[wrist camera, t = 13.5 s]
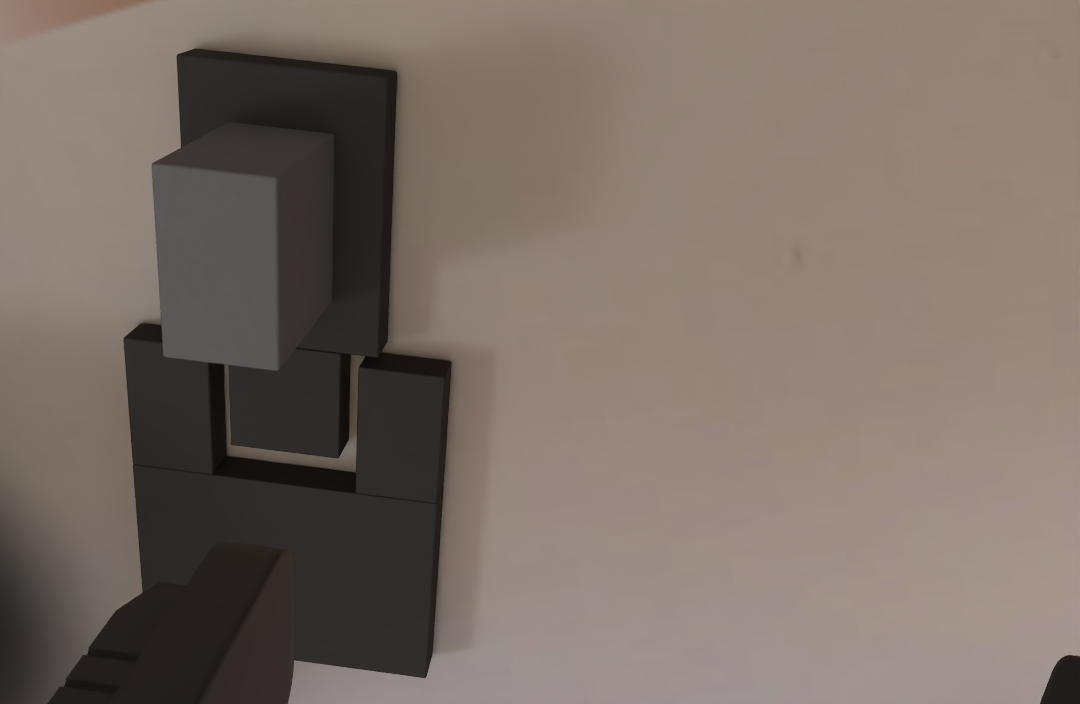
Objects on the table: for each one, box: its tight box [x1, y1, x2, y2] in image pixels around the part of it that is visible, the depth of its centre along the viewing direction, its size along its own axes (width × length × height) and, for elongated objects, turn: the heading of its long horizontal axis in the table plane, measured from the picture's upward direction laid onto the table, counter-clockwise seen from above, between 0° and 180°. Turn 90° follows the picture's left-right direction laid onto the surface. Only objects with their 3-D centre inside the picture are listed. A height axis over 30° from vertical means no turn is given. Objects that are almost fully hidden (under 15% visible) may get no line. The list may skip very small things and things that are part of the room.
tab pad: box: [152, 49, 397, 458], centre depth 34 cm, size 14×7×8 cm, turn 175°
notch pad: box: [124, 324, 451, 678], centre depth 41 cm, size 14×12×2 cm
